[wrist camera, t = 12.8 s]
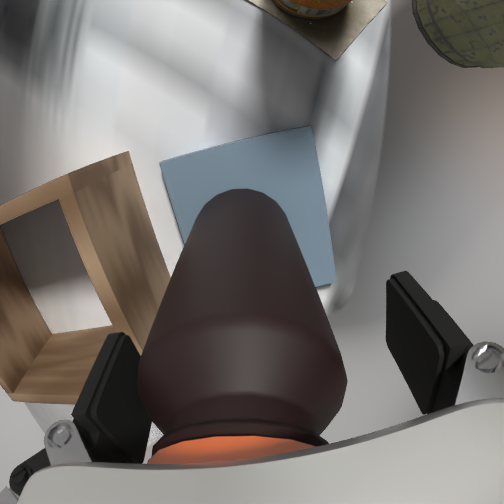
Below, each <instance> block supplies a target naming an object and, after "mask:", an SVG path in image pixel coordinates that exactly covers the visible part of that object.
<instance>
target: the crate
mask: <svg viewBox="0 0 504 504" xmlns="http://www.w3.org/2000/svg"><path fill="white" fill-rule="evenodd" d="M58 199H59V202H60V205H61V207H62V210H63V213H64V216H65V219H66V221H67V224H68V227H69V229H70V232H71V234H72V237H73V239H74V242H75V244H76V247H77V249H78V252H79V254H80V257H81V259H82V261H83V264H84V266H85V268H86V270H87V273H88V275H89V277H90V279H91V282H92V284H93V286H94V288H95V290H96V292H97V294H98V297H99V299H100V301H101V303H102V305H103V307H104V309H105V311H106V313H107V315H108V317H109V319H110V321H111V323H112V326H106V327H99V328H93V329H86V330H79V331H73V332H65V333H58V334H51V332H50V330H49V328H48V327H47V325H46V323H45V321H44V320H43V318H42V316H41V314H40V312H39V311H38V309H37V307H36V305H35V303H34V301H33V299H32V297H31V295H30V293H29V291H28V289H27V287H26V285H25V283H24V281H23V279H22V277H21V275H20V273H19V270H18V268H17V266H16V264H15V262H14V259H13V257H12V255H11V252H10V250H9V248H8V245H7V243H6V240H5V238H4V235H3V233H2V230H1V227H0V385H1V386H2V388H3V389H4V390H5V391H6V393H7V394H8V395H9V396H10V398H11V399H12V400H13V401H19V402H31V403H49V404H76V402H77V400H78V398H79V395H80V393H81V391H82V389H83V386H84V384H85V382H86V380H87V377H88V375H89V373H90V371H91V369H92V367H93V364H94V362H95V360H96V358H97V356H98V354H99V352H100V350H101V348H102V345H103V343H104V341H105V339H106V337H107V336H108V334H111V333H117V332H124V333H125V334H126V335H129V336H130V338H131V339H132V341H133V343H134V345H135V347H136V348H137V350H138V352H139V354H140V356H141V355H142V352H143V349H144V346H145V344H146V341H147V338H148V336H149V333H150V330H151V328H152V325H153V322H154V320H155V317H156V314H157V312H158V309H159V307H160V304H161V302H162V299H163V296H164V294H165V291H166V289H167V286H168V284H169V281H170V279H171V277H170V275H169V272H168V269H167V267H166V264H165V261H164V258H163V256H162V253H161V250H160V247H159V245H158V242H157V239H156V236H155V233H154V230H153V227H152V224H151V221H150V218H149V215H148V212H147V209H146V206H145V203H144V200H143V197H142V194H141V191H140V188H139V184H138V181H137V178H136V175H135V171H134V168H133V165H132V161H131V158H130V154H129V151H127V152H124V153H121V154H118V155H115V156H112V157H110V158H107V159H104V160H101V161H99V162H96V163H93V164H91V165H88V166H86V167H83V168H81V169H78V170H76V171H73V172H71V173H68V174H66V175H64V176H61V177H59V178H57V179H54V180H52V181H50V182H48V183H46V184H43V185H41V186H39V187H37V188H35V189H33V190H31V191H28V192H26V193H24V194H22V195H20V196H18V197H16V198H14V199H12V200H10V201H8V202H6V203H5V204H3V205H1V206H0V225H1V224H3V223H6V222H8V221H10V220H12V219H14V218H16V217H18V216H21V215H23V214H25V213H27V212H30V211H32V210H34V209H37V208H39V207H41V206H44V205H46V204H48V203H51V202H53V201H56V200H58Z"/></svg>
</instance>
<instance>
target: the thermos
mask: <svg viewBox="0 0 504 504" xmlns="http://www.w3.org/2000/svg"><path fill="white" fill-rule="evenodd" d="M412 7H413V14H414V17H415V20H416V23H417V26H418V28H419V30H420V31H421V33H422V35H423V36H424V38H425V40H426V41H427V43H428V44H429V45H430V46H431V47H432V48H433V49H434V50H435V51H436V52H437V54H438V55H440V56H441V57H442V58H444V59H445V60H447V61H448V62H449V63H451V64H454V65H457V66H460V67H463V68H467V67H481V68H497V67H504V0H412Z"/></svg>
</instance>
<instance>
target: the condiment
mask: <svg viewBox="0 0 504 504" xmlns="http://www.w3.org/2000/svg"><path fill="white" fill-rule="evenodd" d="M249 1H251V2H252V3H254V4H255V5H257V6H259V7H260V8H262V9H264V10H265V11H267V12H268V13H270V14H271V15H273V16H274V17H276V18H278V19H279V20H280V21H282V22H284V23H285V24H287V25H288V26H290V27H291V28H293V29H295V30H296V31H298V32H299V33H300V34H301V35H303V36H304V37H305V38H307V39H308V40H309V41H311V42H312V43H313V44H315V45H316V46H318V47H319V48H320V49H322V50H323V51H325V52H326V53H327V54H328V55H330V56H331V57H332V58H333V59H335V60H337V59H338V58H339V57H340V56H341V54H342V53H343V52H344V51H345V49H346V48H347V47H348V46H349V45H350V44H351V42H352V41H353V40H354V39H355V38H356V37H357V36H358V34H359V33H360V32H361V31H362V30H363V29H364V28H365V27H366V25H367V24H368V23H369V22H370V21H371V20H372V19H373V18H374V17H375V16H376V14H377V13H378V12H379V11H380V10H381V9H382V8H383V7H384V6H385V5H386V4H387V2H386V1H385V0H249ZM351 1H353V3H351ZM310 22H311V23H312V24H309V23H310Z"/></svg>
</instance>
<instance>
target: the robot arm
mask: <svg viewBox="0 0 504 504" xmlns="http://www.w3.org/2000/svg"><path fill="white" fill-rule="evenodd" d="M386 297H387V298H386V299H387V300H386V303H387V304H386V342H387V346H388V348H389V350H390V352H391V354H392V356H393V358H394V359H395V361H396V363H397V365H398V367H399V369H400V371H401V373H402V374H403V376H404V379H405V381H406V382H407V384H408V386H409V388H410V390H411V392H412V394H413V396H414V398H415V400H416V402H417V404H418V406H419V408H420V410H421V412H422V414H427V415H424V416H421V417H419V418H416V419H413V420H410V421H407V422H404V423H401V424H398V425H395V426H392V427H389V428H385V429H382V430H379V431H375V432H372V433H369V434H366V435H362V436H358V437H355V438H351V439H347V440H343V441H339V442H335V443H331V444H327V445H322V446H318V447H313V448H308V449H303V450H298V451H293V452H287V453H281V454H275V455H269V456H262V457H255V458H247V459H238V460H228V461H217V462H203V463H182V464H142V463H143V461H144V457H145V452H146V447H147V442H148V438H149V433H150V428H151V423H152V420H151V419H150V418H149V417H148V415H147V414H146V412H145V409H144V407H143V405H142V402H141V400H140V397H139V395H138V392H137V376H138V365H139V360H140V357H141V356H140V354H139V352H138V350H137V348H136V347H135V345H134V343H133V341H132V339H131V338H130V336H129V335H126V334H125V333H124V332H117V333H111V334H108V336H107V337H106V339H105V341H104V343H103V345H102V348H101V350H100V352H99V354H98V356H97V358H96V360H95V362H94V364H93V367H92V369H91V371H90V373H89V375H88V377H87V380H86V382H85V384H84V386H83V389H82V391H81V393H80V395H79V398H78V400H77V402H76V405H75V407H74V409H73V412H72V414H71V415H72V416H73V417H74V420H73V422H71V421H70V420H60V421H58V422H56V423H54V424H53V425H52V426H50V428H49V429H48V430H47V432H46V434H45V437H44V444H45V448H44V449H43V450H41V451H40V452H38V453H37V454H35V455H34V456H32V457H31V458H29V459H27V460H26V461H24V462H23V463H22V464H20V465H18V466H17V467H16V468H15V469H14V470H13V472H12V473H11V476H10V481H9V483H10V488H9V487H7V486H6V487H5V488H4V489H3V490H2V492H1V493H0V504H504V348H503V347H502V346H500V345H498V344H496V343H493V342H481V343H478V344H476V345H473V344H472V343H471V342H470V340H469V339H468V338H467V337H466V335H465V334H464V333H463V332H462V330H461V329H460V328H459V327H458V325H457V324H456V323H455V322H454V320H453V319H452V318H451V317H450V316H449V314H448V313H447V312H446V311H445V310H444V309H443V307H442V306H441V305H440V304H439V303H438V302H437V301H435V300H432V299H431V297H430V296H429V295H428V294H427V293H426V292H425V290H424V289H423V288H422V287H421V286H420V285H419V284H418V283H417V281H416V280H415V279H414V278H413V277H412V276H411V275H410V274H409V272H407V271H404V272H400V273H396V274H393V275H391V278H390V280H387V282H386Z"/></svg>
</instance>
